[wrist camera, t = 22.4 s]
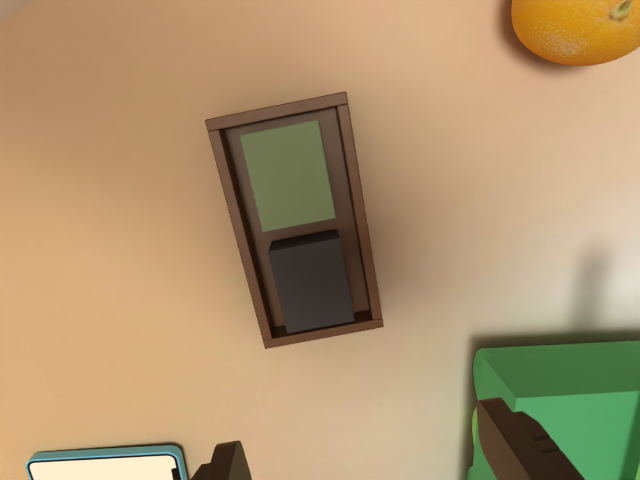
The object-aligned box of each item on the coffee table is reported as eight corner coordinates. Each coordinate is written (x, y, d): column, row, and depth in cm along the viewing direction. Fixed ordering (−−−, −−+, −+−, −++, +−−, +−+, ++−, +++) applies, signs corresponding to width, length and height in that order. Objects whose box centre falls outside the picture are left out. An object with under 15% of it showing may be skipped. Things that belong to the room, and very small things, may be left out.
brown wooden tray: (213, 121, 28) (204, 119, 26) (343, 95, 28) (346, 91, 25) (268, 333, 33) (265, 349, 31) (378, 312, 33) (383, 327, 30)
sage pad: (246, 135, 28) (239, 135, 25) (317, 121, 28) (318, 119, 25) (267, 223, 30) (262, 232, 27) (333, 210, 30) (336, 218, 27)
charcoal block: (271, 240, 30) (267, 251, 27) (336, 228, 30) (339, 237, 27) (289, 316, 32) (287, 333, 29) (350, 304, 32) (354, 321, 29)
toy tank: (885, 306, 20) (722, 701, 30) (671, 244, 32) (603, 540, 41) (569, 323, 20) (506, 717, 29) (471, 253, 32) (449, 550, 41)
